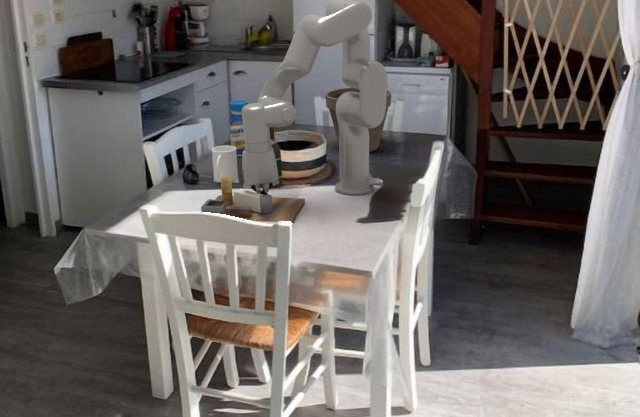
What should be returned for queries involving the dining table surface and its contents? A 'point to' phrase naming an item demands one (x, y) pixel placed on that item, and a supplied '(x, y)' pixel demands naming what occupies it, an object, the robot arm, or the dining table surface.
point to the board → (281, 212)
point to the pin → (227, 189)
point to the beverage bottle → (237, 126)
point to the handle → (253, 201)
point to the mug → (225, 163)
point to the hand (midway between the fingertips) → (263, 204)
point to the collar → (215, 206)
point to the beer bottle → (278, 159)
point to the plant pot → (373, 132)
